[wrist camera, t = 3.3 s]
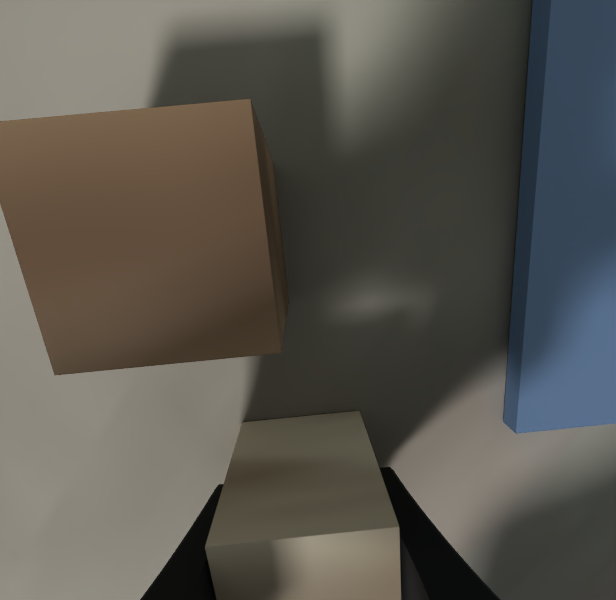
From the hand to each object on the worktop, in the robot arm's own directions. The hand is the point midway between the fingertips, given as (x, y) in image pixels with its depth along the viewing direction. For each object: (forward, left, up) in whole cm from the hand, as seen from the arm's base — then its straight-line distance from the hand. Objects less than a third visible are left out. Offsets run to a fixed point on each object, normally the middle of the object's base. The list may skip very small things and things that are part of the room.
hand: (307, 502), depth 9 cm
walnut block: (+8, +2, -2) cm, 8 cm away
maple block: (0, 0, -1) cm, 1 cm away
